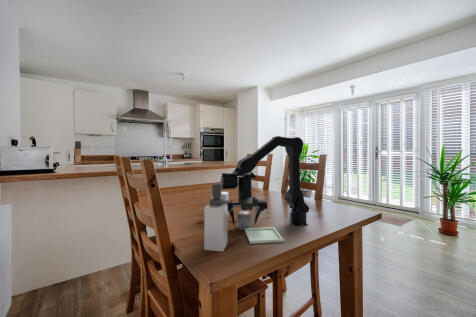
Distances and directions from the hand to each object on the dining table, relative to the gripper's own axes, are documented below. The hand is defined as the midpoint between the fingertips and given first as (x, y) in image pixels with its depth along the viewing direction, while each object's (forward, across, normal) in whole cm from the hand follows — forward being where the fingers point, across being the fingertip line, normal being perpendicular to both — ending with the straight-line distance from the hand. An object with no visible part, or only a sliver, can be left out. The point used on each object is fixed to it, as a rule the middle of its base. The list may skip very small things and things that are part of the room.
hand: (244, 224), depth 92 cm
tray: (+2, +6, -9) cm, 11 cm away
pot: (+2, 0, +1) cm, 2 cm away
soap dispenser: (+2, -12, -15) cm, 19 cm away
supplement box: (+2, -10, +16) cm, 19 cm away
